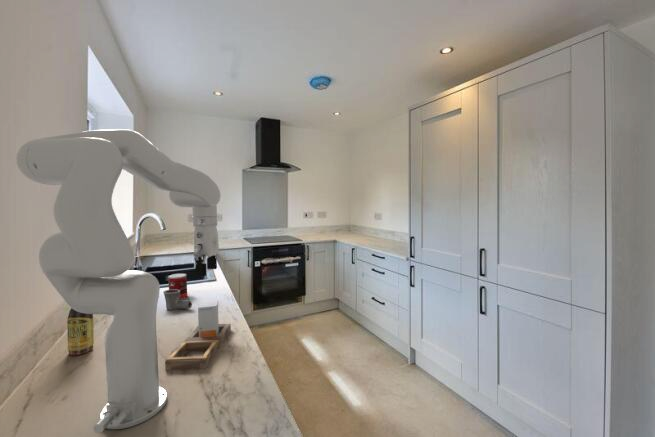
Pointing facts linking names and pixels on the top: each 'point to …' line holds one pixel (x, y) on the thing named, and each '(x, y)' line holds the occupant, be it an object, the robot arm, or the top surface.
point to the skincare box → (208, 320)
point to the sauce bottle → (80, 332)
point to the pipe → (175, 300)
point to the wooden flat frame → (197, 345)
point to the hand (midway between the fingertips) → (206, 272)
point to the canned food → (178, 283)
